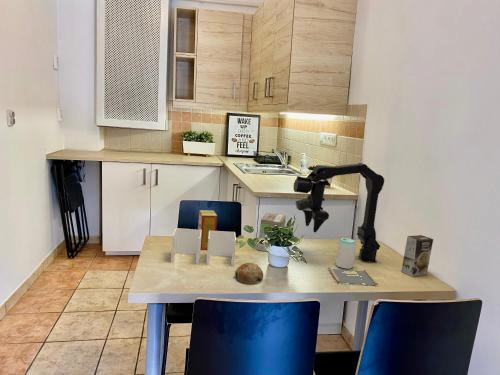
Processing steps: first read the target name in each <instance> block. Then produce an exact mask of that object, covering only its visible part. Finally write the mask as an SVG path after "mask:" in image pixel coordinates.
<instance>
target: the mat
mask: <svg viewBox="0 0 500 375" xmlns="http://www.w3.org/2000/svg"><path fill="white" fill-rule="evenodd" d="M328 269H329V270H328ZM327 270H328V272H329V271H330V272H331V273H330V272H329V273H330V275H331V274H332V275H333V276H332V275H331V276H332V278H333V277H334V278H333V280H334V279H335V280H336V281H335V280H334V281H335V283H336V282H337V283H336V284H339V283H349V284H348V285H353V284H362V283H365V284H366V285H365V286H368V285H378V286H379V282H378V281H377V280H376V279H375V278H374V277H373V275H371V274H372V273H370V272H369V271H368V270H367V269H366V268H363V270H354V269H343V270H342V268H332V267H331V266H328V268H327ZM350 270H351V271H355V272H357V274H358V275H359V276H347V275H357V274H346V273H342V272H344V271H350ZM351 271H350V272H351ZM360 276H362V277H360ZM361 279H362V280H361Z"/></svg>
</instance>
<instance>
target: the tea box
mask: <svg viewBox="0 0 500 375" xmlns="http://www.w3.org/2000/svg"><path fill="white" fill-rule="evenodd" d="M286 217H287V216H286V215H285V214H278V213H271V212H266V213H264V215H263V216H262V217H261V219H260V224H259V225H260V226H259V234H258V239H259V238H261V237H265V234H264V232H263V229H264V228H265V227H274V226H275V225H277V226H278V227H284V228H285V224H286ZM263 241H264V240H261V241H260V242H259V243H257V250H258V251H261V252H267V251H266V249H265V246H264V244H263V243H262V242H263Z"/></svg>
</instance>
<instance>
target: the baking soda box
mask: <svg viewBox="0 0 500 375" xmlns="http://www.w3.org/2000/svg"><path fill="white" fill-rule="evenodd" d="M217 223H218V215H217V213H216V212H215V210H211V209H207V210H205V209H200V210H198V223H197V230H202V234H201V248H200V251H207V249H208V237H209V231H217Z"/></svg>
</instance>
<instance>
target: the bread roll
mask: <svg viewBox="0 0 500 375" xmlns="http://www.w3.org/2000/svg"><path fill="white" fill-rule="evenodd" d="M234 275H235V278H236V279H237V281H239V282H241V283H242V284H246V285H258V284H259V283H261V281H262V280H264V272H263V270H262V268H261V267H260V266H259V265H258V264H256V263H253V262H245V263H242V264H240V265H239V266H238V267H236V270H235V271H234Z"/></svg>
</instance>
